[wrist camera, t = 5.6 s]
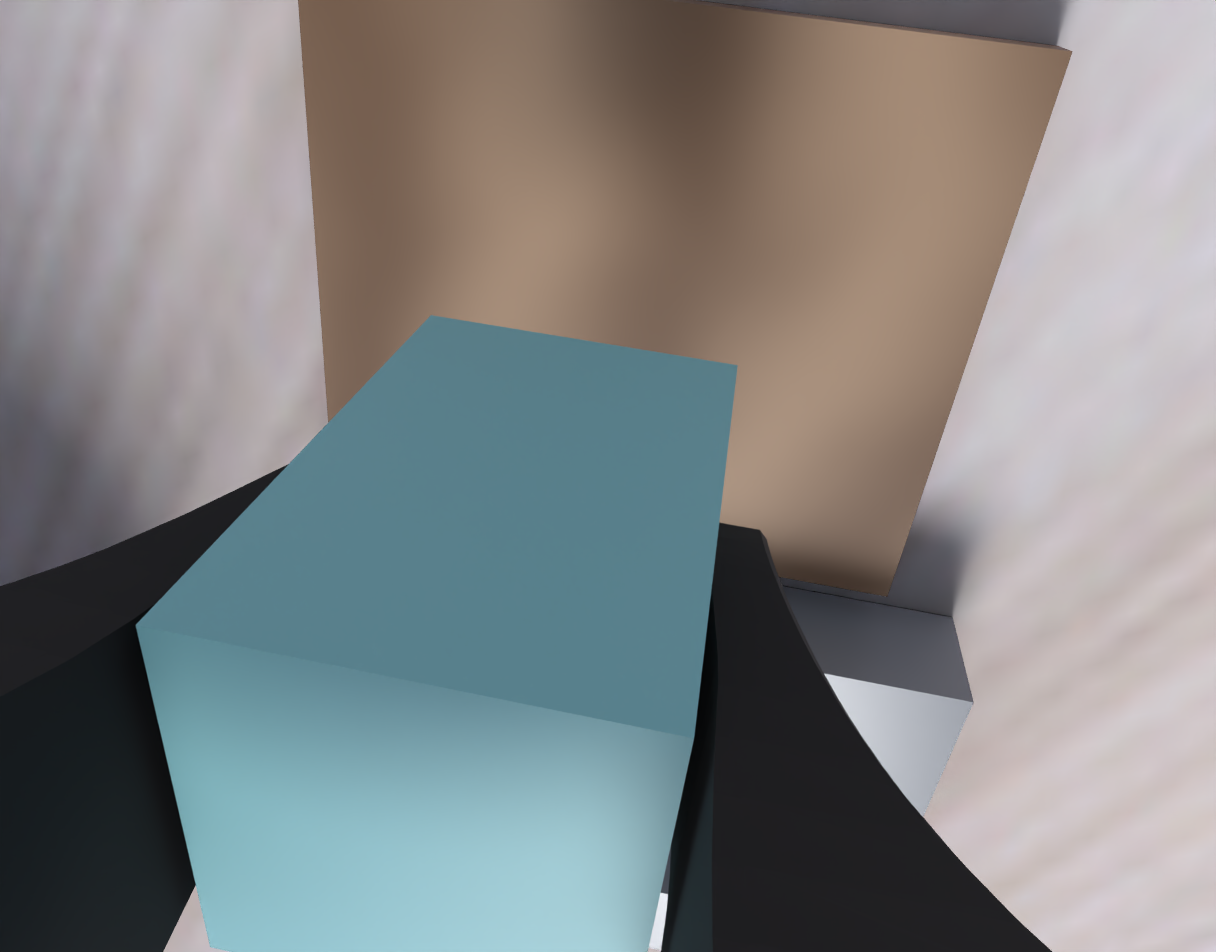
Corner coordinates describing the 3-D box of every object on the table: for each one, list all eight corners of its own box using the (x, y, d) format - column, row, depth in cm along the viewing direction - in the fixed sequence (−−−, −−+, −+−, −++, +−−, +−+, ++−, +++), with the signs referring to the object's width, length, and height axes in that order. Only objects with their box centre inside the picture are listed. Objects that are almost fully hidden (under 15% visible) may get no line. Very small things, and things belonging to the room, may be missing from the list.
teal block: (431, 560, 15) (210, 947, 10) (430, 315, 13) (135, 625, 7) (690, 609, 15) (627, 1046, 9) (737, 365, 13) (694, 738, 7)
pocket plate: (368, 798, 31) (330, 876, 28) (351, 506, 24) (300, 572, 22) (840, 900, 29) (846, 992, 27) (952, 617, 23) (973, 702, 20)
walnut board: (349, 475, 24) (333, 494, 23) (318, -48, 17) (295, -47, 17) (883, 571, 22) (887, 596, 22) (1057, 45, 16) (1072, 51, 15)
